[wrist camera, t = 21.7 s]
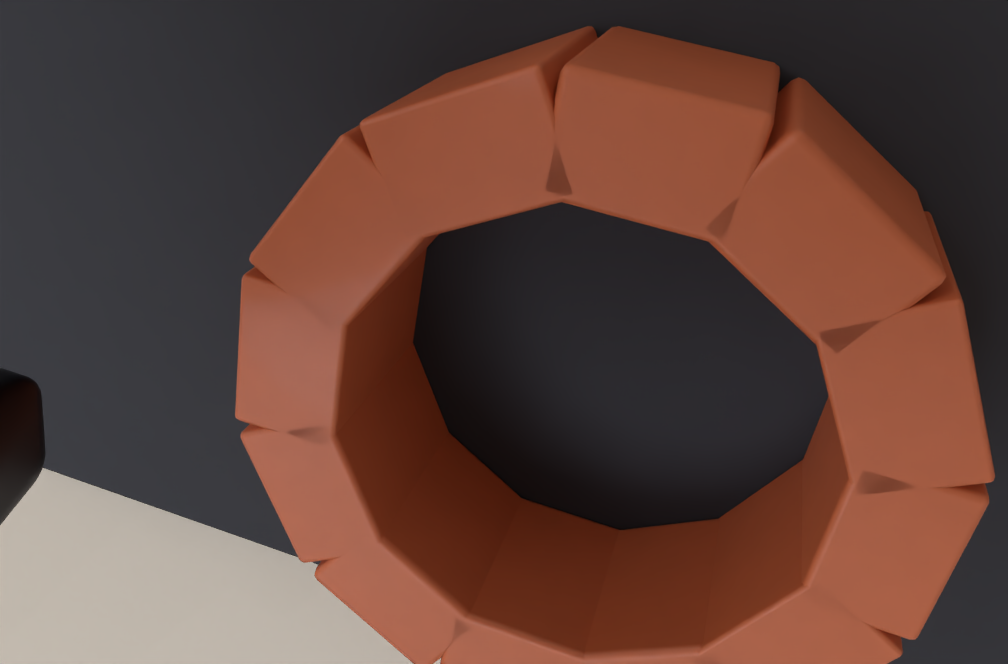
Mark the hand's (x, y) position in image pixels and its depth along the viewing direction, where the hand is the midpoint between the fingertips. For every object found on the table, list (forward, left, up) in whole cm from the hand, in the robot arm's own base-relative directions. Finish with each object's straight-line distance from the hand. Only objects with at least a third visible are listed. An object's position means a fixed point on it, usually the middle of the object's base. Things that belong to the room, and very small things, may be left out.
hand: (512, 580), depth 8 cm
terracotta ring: (0, 0, -4) cm, 4 cm away
